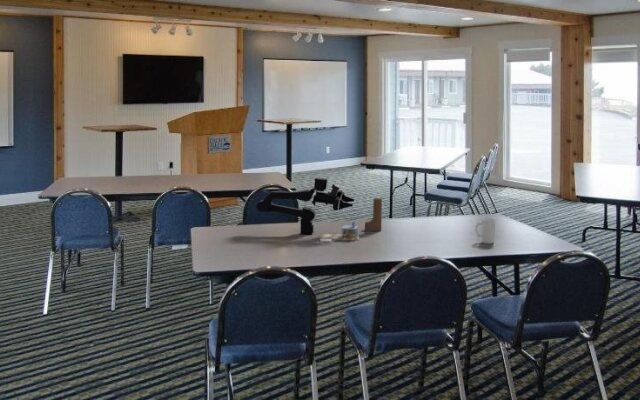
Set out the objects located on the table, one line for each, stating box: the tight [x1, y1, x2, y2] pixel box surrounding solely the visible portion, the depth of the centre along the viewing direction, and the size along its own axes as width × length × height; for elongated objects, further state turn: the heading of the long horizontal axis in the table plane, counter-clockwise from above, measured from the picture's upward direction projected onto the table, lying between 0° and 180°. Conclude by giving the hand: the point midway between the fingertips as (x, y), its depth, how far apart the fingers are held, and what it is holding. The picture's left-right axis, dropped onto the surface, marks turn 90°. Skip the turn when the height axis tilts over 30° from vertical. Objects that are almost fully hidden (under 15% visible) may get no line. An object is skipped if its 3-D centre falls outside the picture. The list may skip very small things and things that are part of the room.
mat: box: [319, 238, 333, 243], centre depth 377 cm, size 6×5×1 cm
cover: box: [341, 220, 359, 238], centre depth 384 cm, size 8×8×8 cm
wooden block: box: [364, 197, 383, 232], centre depth 405 cm, size 9×4×18 cm, turn 82°
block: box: [345, 230, 355, 238], centre depth 384 cm, size 4×4×5 cm
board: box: [318, 233, 360, 241], centre depth 385 cm, size 21×10×1 cm, turn 85°
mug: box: [474, 218, 496, 245], centre depth 374 cm, size 10×7×12 cm, turn 86°
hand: (353, 202), depth 390 cm, fingers open, 9 cm apart
